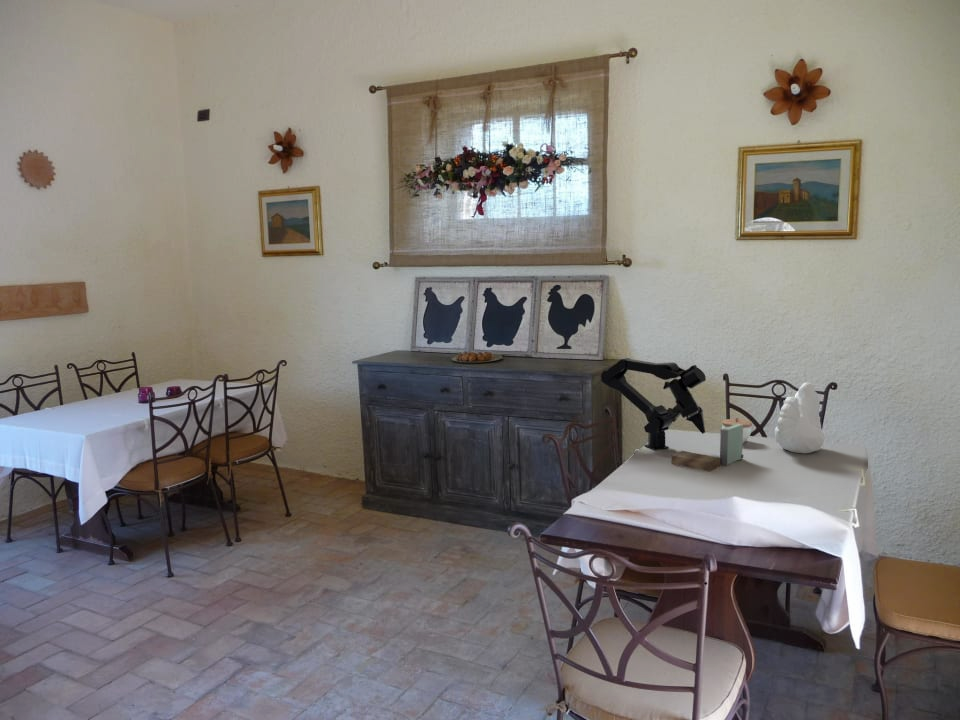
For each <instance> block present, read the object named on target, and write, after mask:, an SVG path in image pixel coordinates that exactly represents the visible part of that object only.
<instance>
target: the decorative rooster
mask: <svg viewBox="0 0 960 720" xmlns="http://www.w3.org/2000/svg"><path fill="white" fill-rule="evenodd" d="M815 389H816V388H815V385H814V384H813V382H807V381H805V382H803V383H802V384H801V385H800V387H799V388H798V390H797V392H795V395H794V396H787V397H786V398H785V400H784V402H783V405H782V406H781V408H780V411H779V415H778V416H779V417H778V419H777V421H776V422H777V423H776V424H777V425H776V427H775V428H774V434H775V435H774V436H775V441H776V443H778V444H779V446H780V447H781V448H782V449H784V450H787V451H789V452H791V453H794V452H795V453H796V454H797V453H798V454H810V453H813V452H817V451H819V450H820V449H822V447H823V445H824V442H825V441H824V440H825V438H824V433H823V429H822V423H821V420H820V405H821V404H820V401H821V400H820V395H819V394H818V392H817V391H816V390H815Z"/></svg>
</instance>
